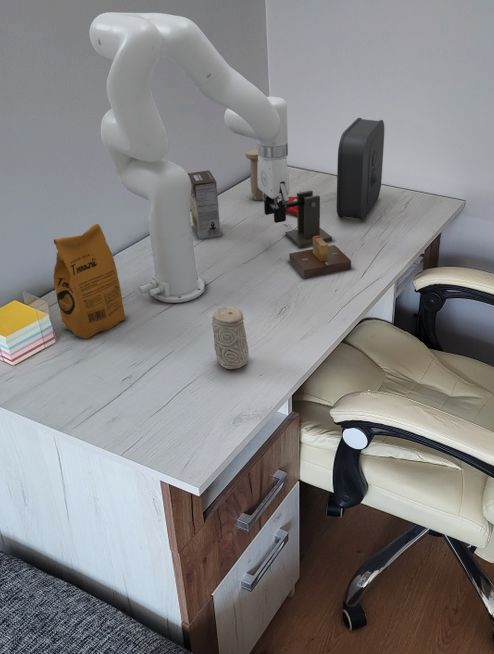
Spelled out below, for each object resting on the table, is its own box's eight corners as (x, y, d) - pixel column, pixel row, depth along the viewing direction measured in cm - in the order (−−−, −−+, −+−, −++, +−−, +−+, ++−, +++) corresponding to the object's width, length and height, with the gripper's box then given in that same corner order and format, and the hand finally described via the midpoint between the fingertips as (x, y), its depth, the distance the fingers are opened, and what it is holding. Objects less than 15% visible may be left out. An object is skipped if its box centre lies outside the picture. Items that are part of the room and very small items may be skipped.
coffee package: (57, 326, 147) (34, 235, 134) (106, 305, 155) (88, 216, 142) (82, 343, 141) (60, 249, 129) (131, 320, 149) (115, 230, 137)
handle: (270, 197, 210) (268, 150, 201) (256, 203, 205) (254, 155, 197) (258, 194, 212) (256, 147, 204) (245, 200, 208) (242, 152, 199)
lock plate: (304, 278, 166) (304, 269, 164) (289, 261, 173) (289, 252, 172) (350, 269, 170) (351, 260, 169) (334, 253, 178) (334, 244, 176)
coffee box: (192, 226, 191) (186, 172, 182) (214, 223, 193) (209, 169, 184) (199, 239, 184) (193, 183, 175) (221, 236, 186) (217, 180, 177)
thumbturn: (327, 260, 169) (327, 243, 166) (321, 261, 168) (321, 244, 165) (318, 251, 173) (319, 234, 170) (312, 252, 172) (312, 236, 170)
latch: (277, 215, 174) (276, 207, 172) (268, 209, 177) (268, 200, 176) (317, 207, 179) (317, 198, 177) (308, 201, 182) (308, 192, 181)
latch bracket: (300, 248, 180) (299, 203, 173) (285, 235, 187) (284, 192, 179) (332, 240, 184) (332, 196, 177) (316, 228, 191) (316, 186, 183)
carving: (231, 349, 140) (227, 300, 133) (256, 363, 136) (253, 313, 129) (208, 362, 136) (203, 312, 129) (233, 377, 132) (229, 326, 125)
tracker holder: (314, 212, 197) (281, 206, 195) (310, 224, 200) (278, 218, 198) (311, 189, 205) (280, 183, 203) (308, 200, 208) (276, 195, 206)
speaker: (358, 193, 214) (362, 113, 199) (384, 196, 211) (390, 116, 197) (336, 223, 194) (338, 137, 180) (364, 227, 192) (368, 140, 178)
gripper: (245, 142, 171) (249, 209, 181) (274, 162, 159) (276, 232, 169) (271, 138, 174) (274, 204, 184) (301, 157, 162) (302, 226, 172)
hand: (275, 216), depth 177 cm, fingers closed on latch, 5 cm apart
